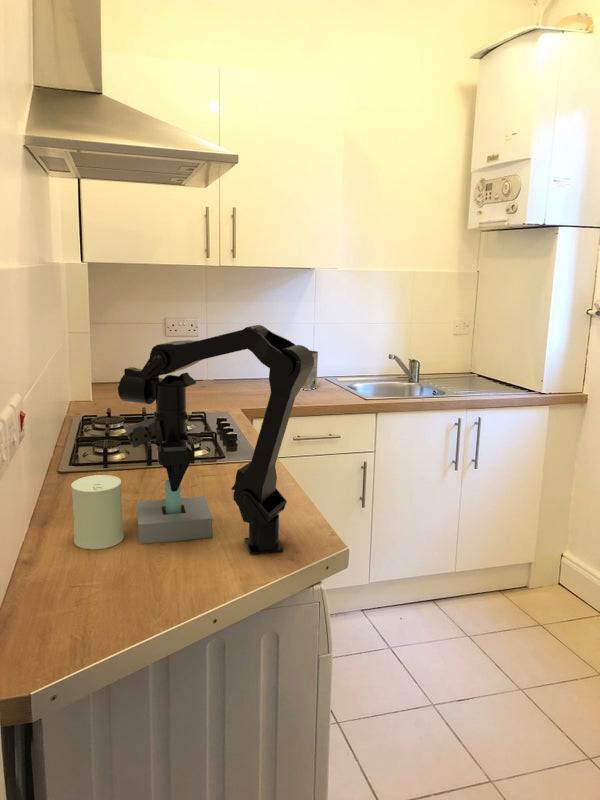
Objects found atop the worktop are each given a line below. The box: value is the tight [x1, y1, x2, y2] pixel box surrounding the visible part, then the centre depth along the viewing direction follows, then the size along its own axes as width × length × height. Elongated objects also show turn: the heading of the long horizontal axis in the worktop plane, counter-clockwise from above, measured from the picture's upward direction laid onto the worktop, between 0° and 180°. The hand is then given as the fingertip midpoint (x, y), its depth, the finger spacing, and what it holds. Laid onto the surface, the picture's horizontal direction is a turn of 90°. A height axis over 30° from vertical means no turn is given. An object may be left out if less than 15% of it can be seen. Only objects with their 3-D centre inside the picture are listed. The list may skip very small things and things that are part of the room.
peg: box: [164, 479, 182, 515], centre depth 129 cm, size 3×3×10 cm
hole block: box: [136, 495, 213, 545], centre depth 130 cm, size 12×14×4 cm
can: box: [70, 474, 125, 551], centre depth 123 cm, size 9×9×12 cm
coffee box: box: [302, 349, 319, 390], centre depth 268 cm, size 9×6×16 cm
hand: (172, 483), depth 128 cm, fingers open, 9 cm apart
